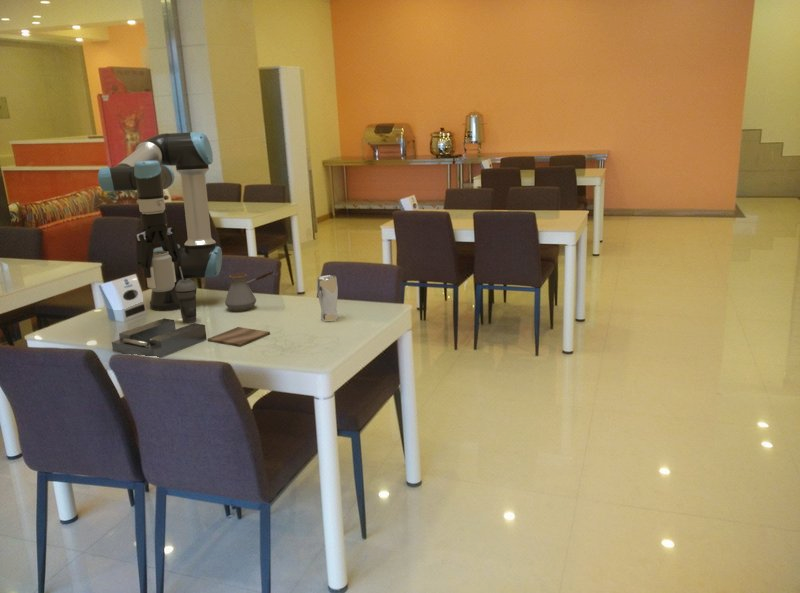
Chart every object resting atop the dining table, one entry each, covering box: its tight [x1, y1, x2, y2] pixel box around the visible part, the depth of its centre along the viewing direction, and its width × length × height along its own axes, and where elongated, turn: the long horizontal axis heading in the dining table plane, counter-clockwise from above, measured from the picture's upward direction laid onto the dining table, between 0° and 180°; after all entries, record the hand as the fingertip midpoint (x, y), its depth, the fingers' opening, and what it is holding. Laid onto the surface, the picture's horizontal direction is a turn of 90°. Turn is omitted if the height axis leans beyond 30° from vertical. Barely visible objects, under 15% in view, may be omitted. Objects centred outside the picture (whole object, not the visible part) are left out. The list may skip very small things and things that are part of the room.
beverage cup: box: [175, 266, 198, 324], centre depth 243 cm, size 7×7×20 cm
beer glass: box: [316, 274, 339, 322], centre depth 240 cm, size 7×7×15 cm
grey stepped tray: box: [111, 318, 208, 358], centre depth 220 cm, size 19×21×5 cm
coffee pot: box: [224, 269, 278, 312], centre depth 257 cm, size 21×12×15 cm, turn 76°
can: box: [149, 251, 175, 292], centre depth 217 cm, size 8×8×12 cm
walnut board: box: [207, 326, 271, 348], centre depth 225 cm, size 14×14×1 cm
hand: (162, 284), depth 218 cm, fingers closed on can, 7 cm apart
